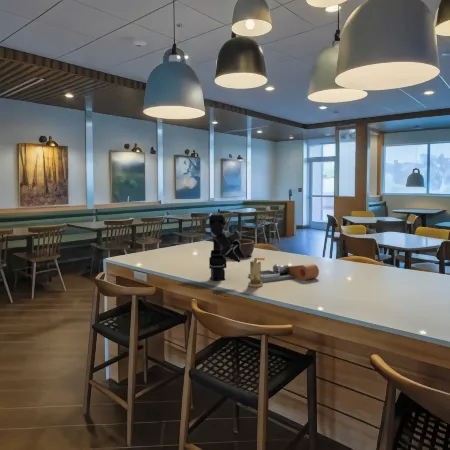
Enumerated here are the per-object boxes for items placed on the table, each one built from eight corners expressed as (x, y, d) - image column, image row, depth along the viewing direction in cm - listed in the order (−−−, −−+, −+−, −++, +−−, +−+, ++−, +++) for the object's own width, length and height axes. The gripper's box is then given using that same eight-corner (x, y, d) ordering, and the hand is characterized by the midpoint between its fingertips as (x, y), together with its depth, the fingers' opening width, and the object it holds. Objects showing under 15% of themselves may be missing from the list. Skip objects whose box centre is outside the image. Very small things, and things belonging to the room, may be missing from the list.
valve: (246, 286, 189) (246, 258, 187) (250, 283, 195) (250, 256, 194) (263, 287, 186) (263, 259, 185) (265, 284, 193) (265, 256, 192)
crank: (318, 279, 202) (318, 264, 201) (307, 281, 198) (307, 266, 197) (292, 272, 219) (292, 258, 218) (282, 274, 215) (282, 260, 214)
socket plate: (261, 282, 196) (261, 269, 195) (248, 276, 208) (248, 264, 208) (294, 278, 204) (294, 265, 203) (279, 273, 217) (279, 260, 216)
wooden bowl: (244, 260, 254) (244, 245, 253) (212, 257, 266) (212, 242, 265) (260, 254, 275) (260, 240, 274) (229, 251, 288) (229, 237, 287)
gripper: (226, 228, 182) (248, 252, 180) (236, 224, 200) (257, 245, 198) (210, 244, 185) (232, 268, 183) (222, 238, 203) (242, 260, 201)
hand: (242, 259), depth 191 cm, fingers open, 9 cm apart
